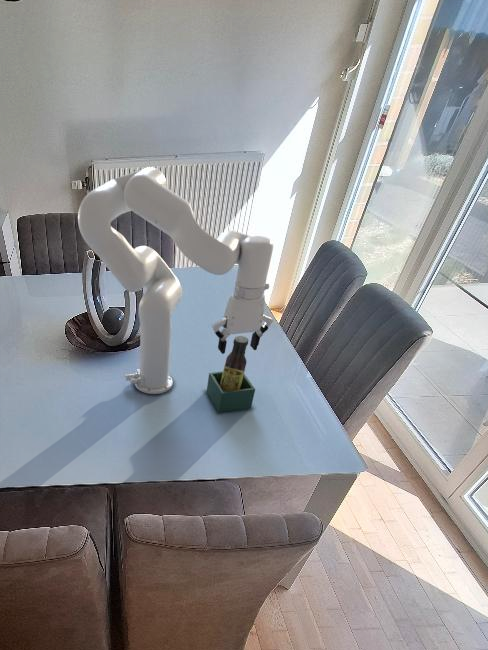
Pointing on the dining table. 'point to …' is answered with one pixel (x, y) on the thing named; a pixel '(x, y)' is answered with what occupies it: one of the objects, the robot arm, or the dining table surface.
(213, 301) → the dining table surface
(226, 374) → the sauce bottle
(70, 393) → the dining table surface
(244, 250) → the robot arm
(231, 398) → the dark green storage bin
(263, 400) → the dining table surface
